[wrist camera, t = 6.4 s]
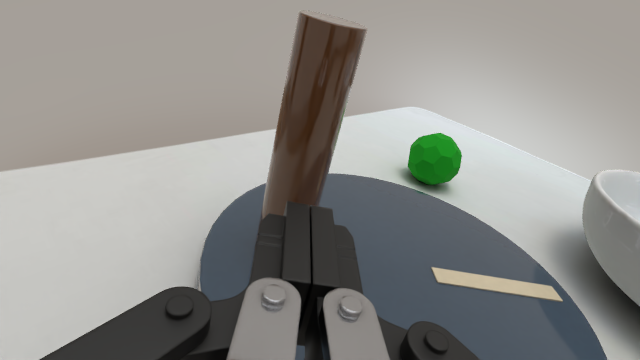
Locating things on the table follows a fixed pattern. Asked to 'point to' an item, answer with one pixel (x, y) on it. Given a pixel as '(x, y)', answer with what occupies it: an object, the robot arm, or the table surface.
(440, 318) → the peg stand
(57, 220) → the table surface
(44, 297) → the table surface
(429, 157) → the polyhedron
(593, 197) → the serving bowl
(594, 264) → the table surface
